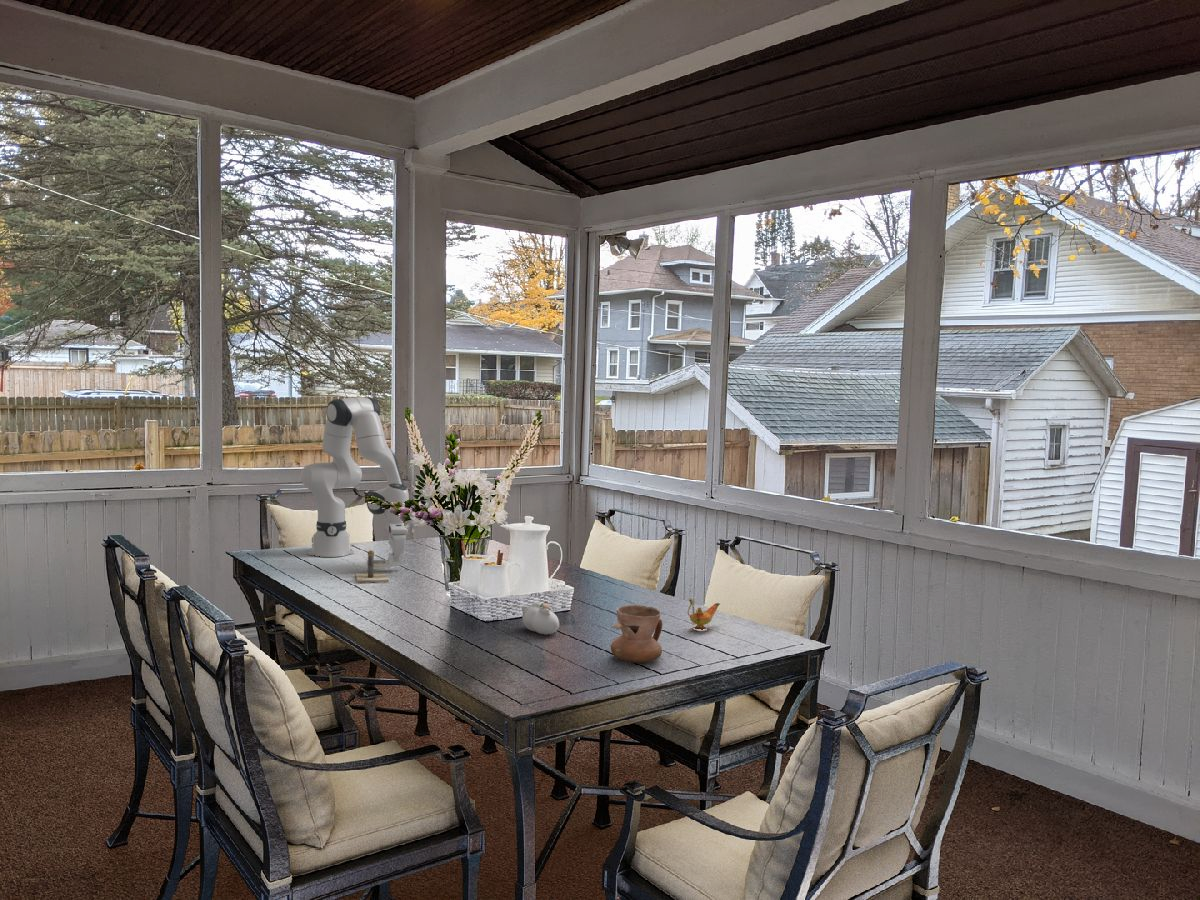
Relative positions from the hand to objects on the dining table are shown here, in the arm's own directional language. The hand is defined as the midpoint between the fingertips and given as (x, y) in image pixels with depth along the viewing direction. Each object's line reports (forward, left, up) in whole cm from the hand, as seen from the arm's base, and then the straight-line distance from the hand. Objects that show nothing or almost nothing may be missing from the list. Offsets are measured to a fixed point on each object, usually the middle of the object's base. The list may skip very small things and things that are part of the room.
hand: (395, 560), depth 351 cm
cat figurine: (+92, +33, -5) cm, 98 cm away
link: (0, -4, -2) cm, 5 cm away
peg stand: (+12, -10, -4) cm, 16 cm away
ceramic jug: (+124, +53, -5) cm, 135 cm away
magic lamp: (+100, +85, -5) cm, 131 cm away
